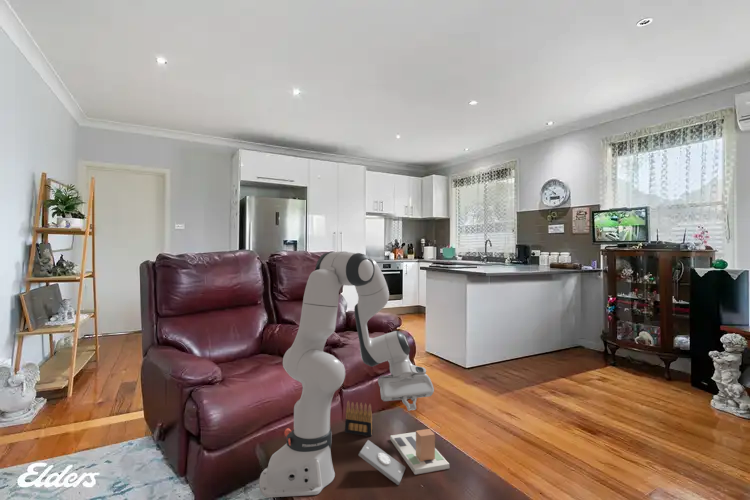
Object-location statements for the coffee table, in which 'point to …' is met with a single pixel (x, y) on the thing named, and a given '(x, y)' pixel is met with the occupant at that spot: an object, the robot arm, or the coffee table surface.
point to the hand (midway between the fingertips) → (412, 409)
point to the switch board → (408, 452)
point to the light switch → (382, 462)
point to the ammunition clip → (358, 420)
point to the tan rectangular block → (425, 444)
